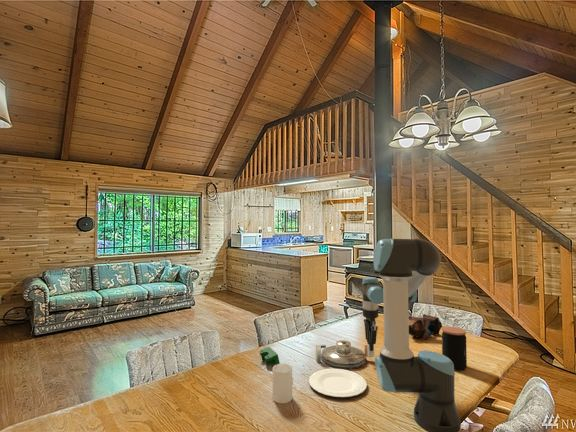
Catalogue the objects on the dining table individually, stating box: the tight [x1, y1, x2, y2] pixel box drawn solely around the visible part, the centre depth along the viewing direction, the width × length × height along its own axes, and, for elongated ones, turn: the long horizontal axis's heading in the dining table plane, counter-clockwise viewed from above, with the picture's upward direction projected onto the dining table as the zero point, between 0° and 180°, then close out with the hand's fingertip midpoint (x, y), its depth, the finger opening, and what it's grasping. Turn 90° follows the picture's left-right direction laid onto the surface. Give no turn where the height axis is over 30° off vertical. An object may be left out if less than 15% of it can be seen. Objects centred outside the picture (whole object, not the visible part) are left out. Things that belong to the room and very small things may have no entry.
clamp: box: [258, 346, 281, 367], centre depth 162 cm, size 12×6×9 cm, turn 21°
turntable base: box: [315, 344, 367, 370], centre depth 165 cm, size 25×23×8 cm
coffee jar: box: [441, 325, 468, 372], centre depth 157 cm, size 11×11×18 cm
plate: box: [308, 368, 368, 399], centre depth 139 cm, size 25×25×2 cm
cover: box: [334, 339, 353, 357], centre depth 166 cm, size 10×10×6 cm
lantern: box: [409, 313, 443, 341], centre depth 200 cm, size 16×16×25 cm
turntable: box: [321, 344, 369, 365], centre depth 166 cm, size 25×22×6 cm
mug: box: [272, 363, 294, 404], centre depth 131 cm, size 8×12×12 cm
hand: (370, 356), depth 158 cm, fingers closed
